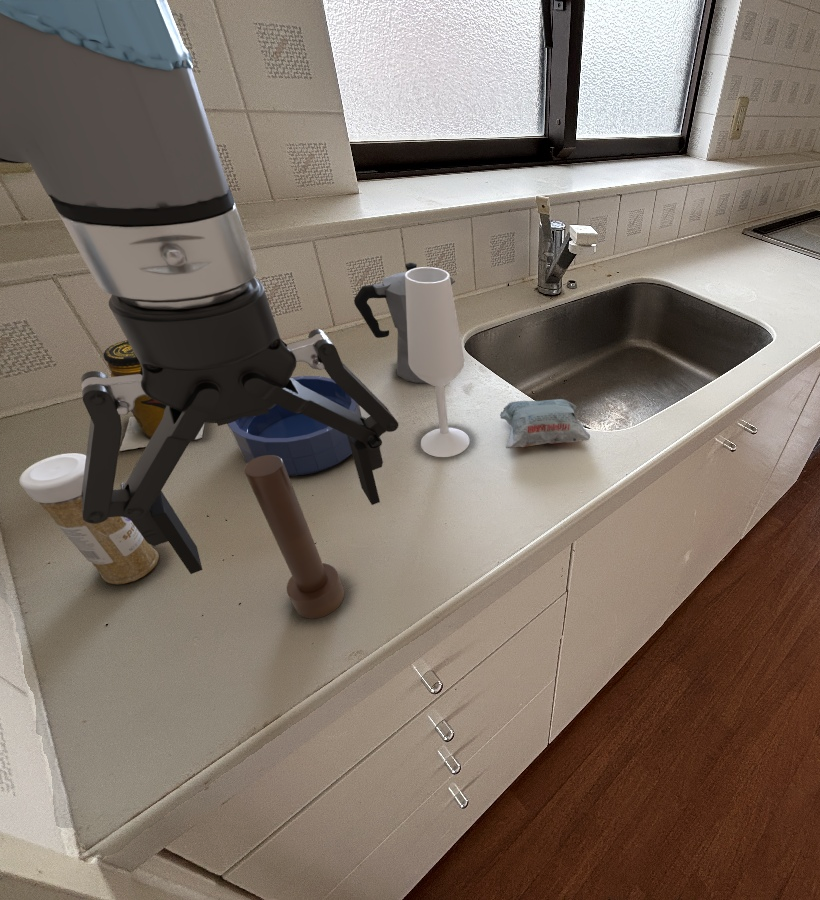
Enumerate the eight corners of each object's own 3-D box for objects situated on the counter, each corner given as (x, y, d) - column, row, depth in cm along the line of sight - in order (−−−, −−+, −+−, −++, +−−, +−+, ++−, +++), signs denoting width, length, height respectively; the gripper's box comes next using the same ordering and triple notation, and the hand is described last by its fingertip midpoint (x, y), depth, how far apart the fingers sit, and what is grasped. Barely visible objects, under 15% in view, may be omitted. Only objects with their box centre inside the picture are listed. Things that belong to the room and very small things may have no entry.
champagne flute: (439, 422, 74) (420, 259, 58) (478, 436, 72) (470, 273, 57) (410, 447, 69) (381, 276, 53) (452, 463, 67) (435, 292, 52)
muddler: (289, 620, 48) (219, 486, 36) (302, 581, 51) (243, 447, 40) (338, 617, 48) (285, 484, 37) (348, 579, 52) (303, 447, 40)
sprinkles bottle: (168, 565, 51) (100, 467, 42) (113, 594, 48) (27, 495, 39) (148, 542, 52) (78, 444, 44) (94, 569, 49) (7, 469, 41)
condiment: (202, 439, 65) (161, 358, 58) (119, 452, 62) (65, 368, 54) (207, 408, 70) (170, 330, 62) (130, 419, 67) (82, 337, 59)
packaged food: (588, 451, 72) (591, 424, 69) (506, 458, 69) (505, 430, 66) (574, 417, 79) (577, 390, 76) (499, 422, 75) (498, 394, 72)
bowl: (223, 480, 60) (204, 442, 56) (266, 410, 71) (253, 374, 67) (352, 478, 63) (342, 441, 59) (375, 411, 74) (367, 376, 70)
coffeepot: (448, 348, 90) (439, 247, 79) (473, 372, 85) (467, 268, 74) (361, 369, 82) (336, 259, 71) (382, 397, 77) (360, 284, 65)
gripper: (-170, 362, 20) (102, 634, 34) (418, 276, 34) (445, 496, 47) (-132, 294, 25) (96, 560, 38) (377, 241, 38) (413, 452, 51)
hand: (290, 525), depth 43 cm, fingers open, 13 cm apart
